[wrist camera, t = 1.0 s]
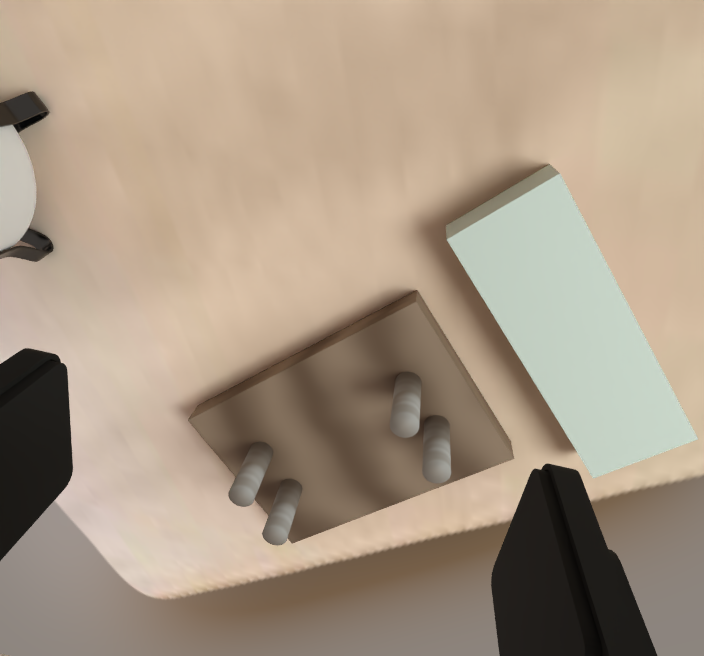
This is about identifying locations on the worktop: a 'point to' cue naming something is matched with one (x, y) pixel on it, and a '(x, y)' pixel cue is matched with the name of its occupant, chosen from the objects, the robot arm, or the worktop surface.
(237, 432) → the peg stand
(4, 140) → the coffee press
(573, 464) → the worktop surface
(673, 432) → the shelf board
